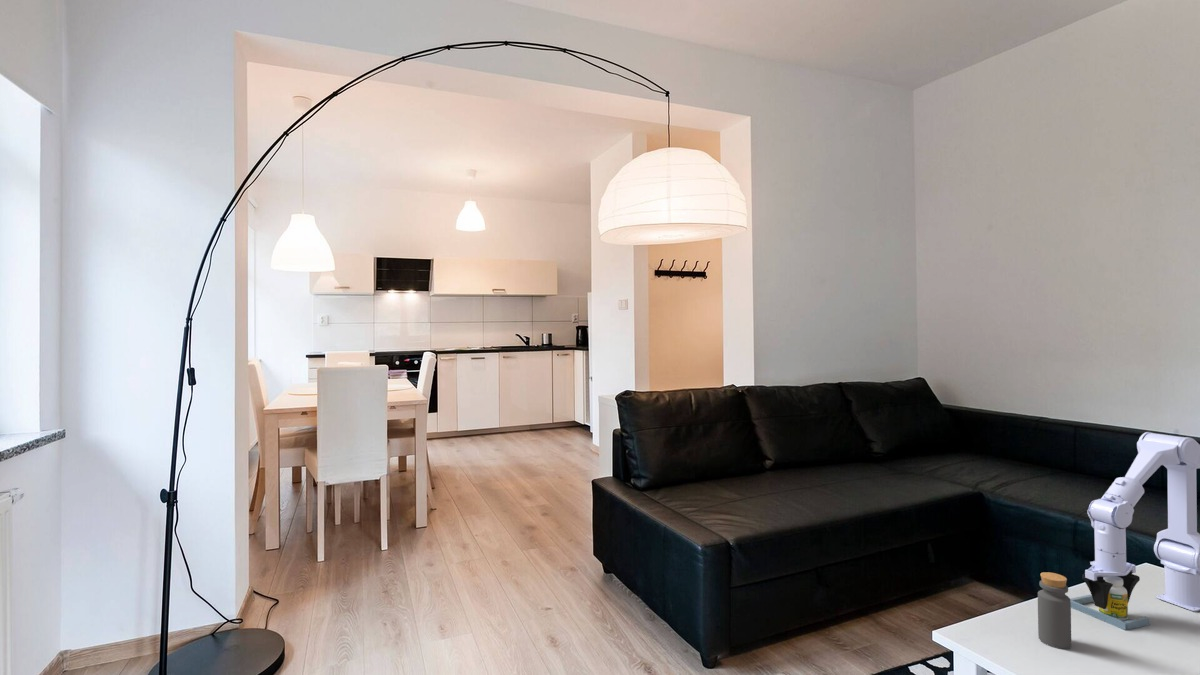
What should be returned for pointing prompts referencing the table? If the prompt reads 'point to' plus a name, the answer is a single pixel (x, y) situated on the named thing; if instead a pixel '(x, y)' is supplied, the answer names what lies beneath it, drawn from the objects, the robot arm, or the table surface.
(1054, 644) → the bottle
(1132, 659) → the table surface
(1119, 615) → the supplement bottle
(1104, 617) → the blue-grey u-shaped bracket
